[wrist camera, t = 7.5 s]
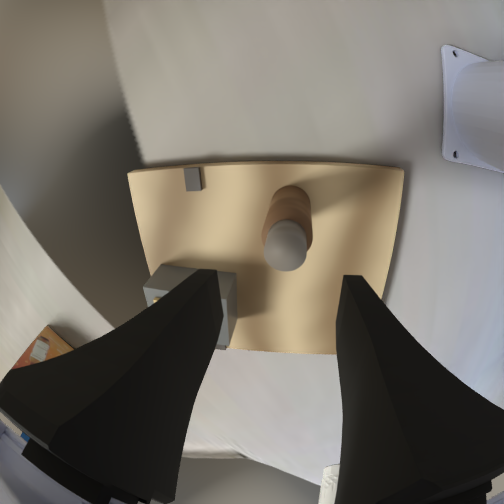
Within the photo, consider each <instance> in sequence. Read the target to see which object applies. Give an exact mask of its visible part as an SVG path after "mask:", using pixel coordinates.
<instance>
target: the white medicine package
mask: <svg viewBox="0 0 504 504" xmlns="http://www.w3.org/2000/svg"><path fill="white" fill-rule="evenodd" d="M339 468H340V464H337V465H331V466H327V467H325V468H324V471H323V479H322V483H321V489H320V495H319V503H318V504H334V502H335V497H336V491H337V484H338V476H339Z"/></svg>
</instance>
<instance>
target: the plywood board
mask: <svg viewBox="0 0 504 504" xmlns="http://www.w3.org/2000/svg"><path fill="white" fill-rule="evenodd" d="M128 180H129V184H130V189H131V195H132V199H133V205H134V210H135V214H136V219H137V223H138V227H139V232H140V236H141V240H142V244H143V248H144V252H145V256H146V259H147V263H148V266H149V270H150V274H151V276H152V275H153V273H154V272H155V271H156V269H157V268H158V267H159V266H160V264H163V265H171V266H179V267H187V268H196V269H215V270H217V271H222V272H231V273H236V279H237V318H238V319H237V322H236V326H235V329H234V332H233V335H232V339H231V342H230V345H229V346H226V345H220V344H216V347H215V349H220V350H226V348H233V349H243V350H254V351H267V352H282V353H301V354H337V352H336V317H337V311H338V305H339V299H340V293H341V287H342V280H343V275H362V276H363V277H364V279H365V280H366V281H367V282H368V284H369V285H370V286H371V287H372V289H373V290H374V291H375V292H376V294H377V295H378V296H379V298H380V299H381V298H382V294H383V291H384V287H385V283H386V278H387V274H388V270H389V265H390V261H391V256H392V251H393V246H394V241H395V235H396V230H397V224H398V218H399V211H400V204H401V197H402V189H403V180H404V171H403V170H402V169H401V168H399V167H390V166H379V165H367V164H354V163H336V162H310V161H247V162H221V163H203V164H189V165H177V166H166V167H156V168H147V169H139V170H134V171H132V172H130V173H128ZM284 186H297V187H299V188H301V189H303V190H304V191H305V192H306V193H307V195H308V196H309V199H310V204H311V216H312V230H313V241H312V245H311V247H310V249H309V250H308V251H307V256H306V260H305V262H304V263H303V264H302V265H301V266H300V267H299V268H298V269H296V270H293V271H287V272H285V271H279V270H276V269H274V268H272V267H271V266H270V265H269V264H268V263H267V261H266V260H265V257H264V245H263V243H262V238H261V233H262V229H263V226H264V222H265V219H266V216H267V213H268V210H269V206H270V203H271V200H272V197H273V195H274V193H275V192H276V191H277V190H278V189H280V188H282V187H284Z"/></svg>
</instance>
